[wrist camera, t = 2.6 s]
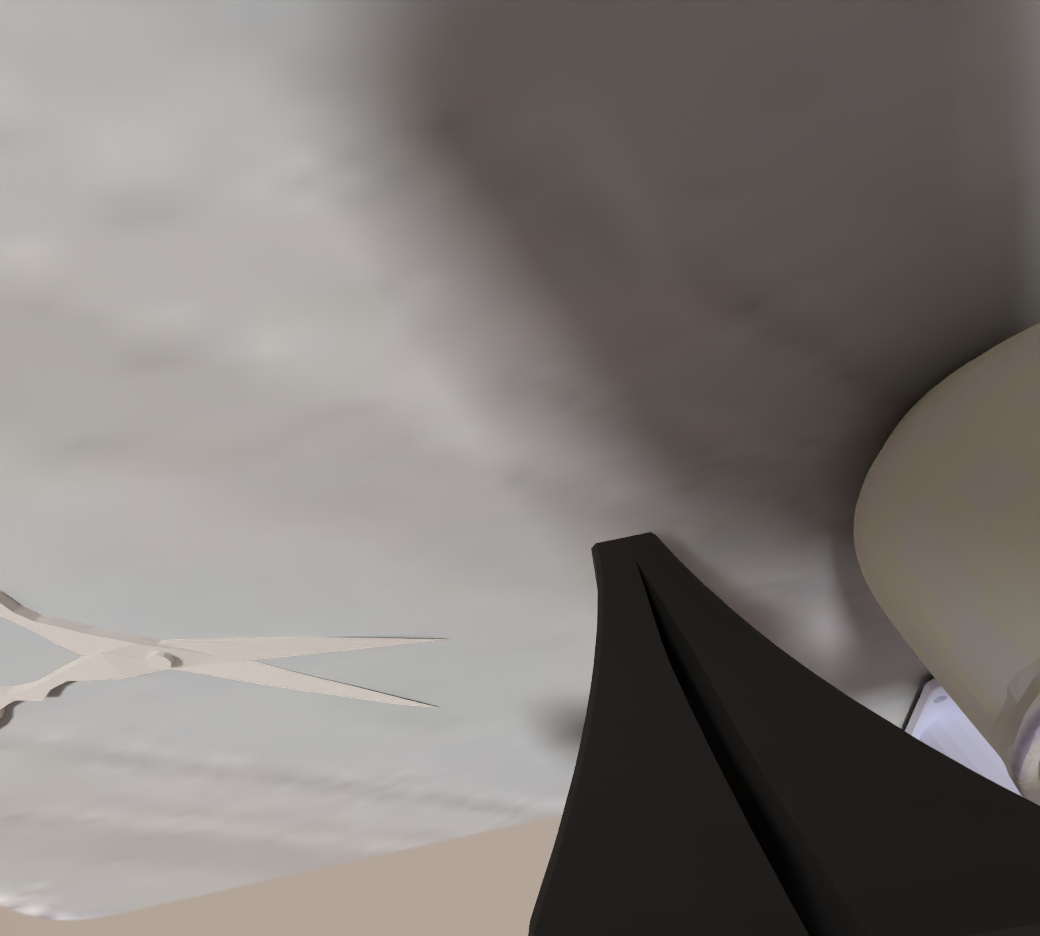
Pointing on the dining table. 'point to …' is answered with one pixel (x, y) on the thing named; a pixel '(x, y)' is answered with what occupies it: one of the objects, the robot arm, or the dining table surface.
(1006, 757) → the teacup
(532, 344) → the dining table surface
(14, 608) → the scissors
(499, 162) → the dining table surface
